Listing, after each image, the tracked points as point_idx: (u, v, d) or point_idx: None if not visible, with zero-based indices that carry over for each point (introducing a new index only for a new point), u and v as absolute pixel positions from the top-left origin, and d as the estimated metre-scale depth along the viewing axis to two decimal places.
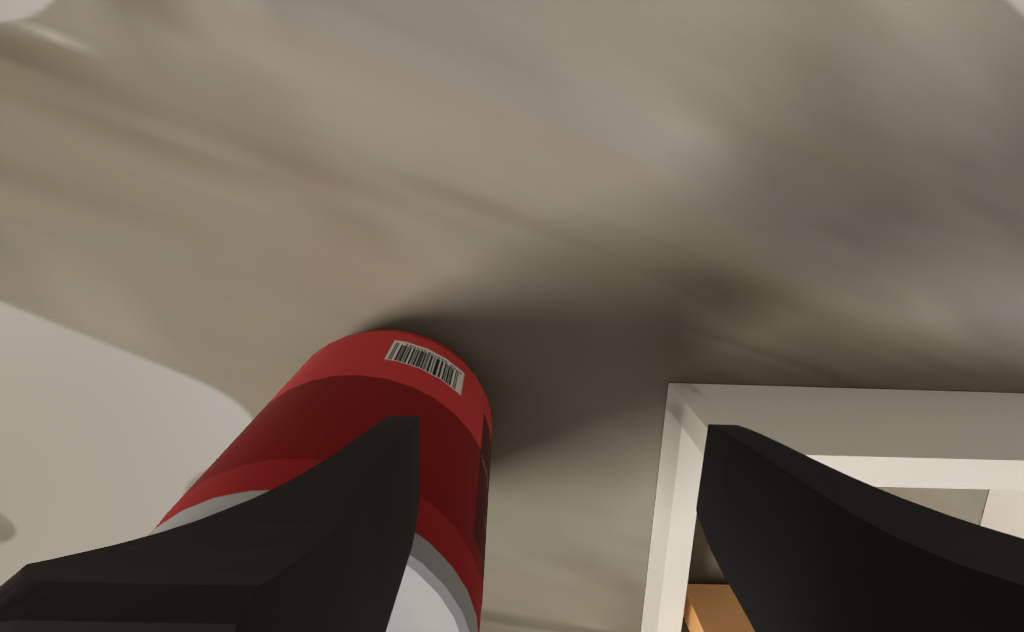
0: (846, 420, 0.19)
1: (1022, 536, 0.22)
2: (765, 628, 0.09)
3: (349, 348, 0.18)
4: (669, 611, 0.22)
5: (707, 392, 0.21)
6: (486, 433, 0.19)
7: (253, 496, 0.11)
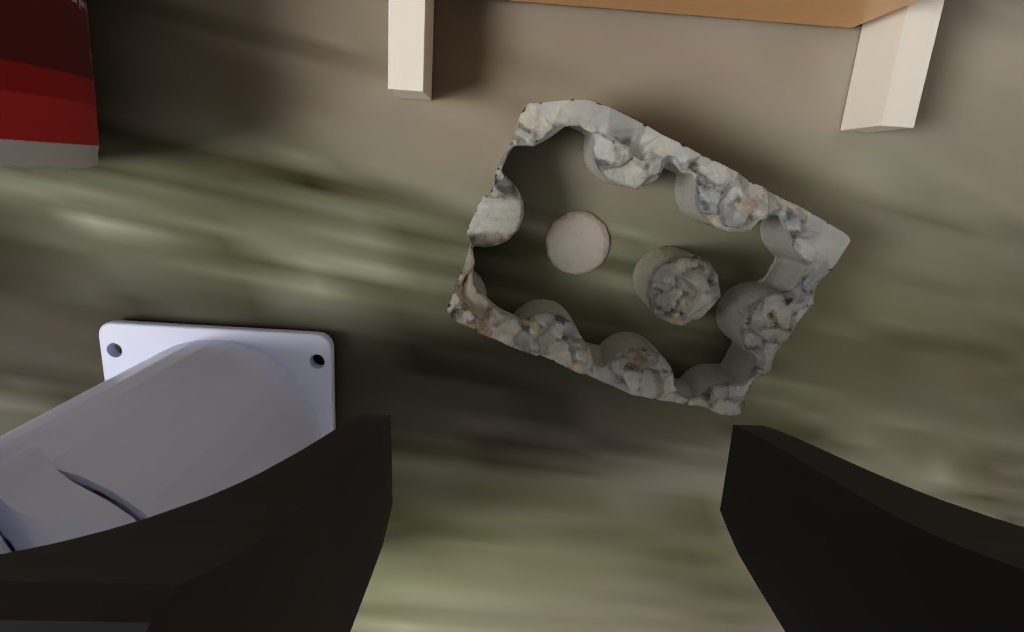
0: None
1: None
2: (796, 629, 0.09)
3: None
4: None
5: None
6: None
7: None
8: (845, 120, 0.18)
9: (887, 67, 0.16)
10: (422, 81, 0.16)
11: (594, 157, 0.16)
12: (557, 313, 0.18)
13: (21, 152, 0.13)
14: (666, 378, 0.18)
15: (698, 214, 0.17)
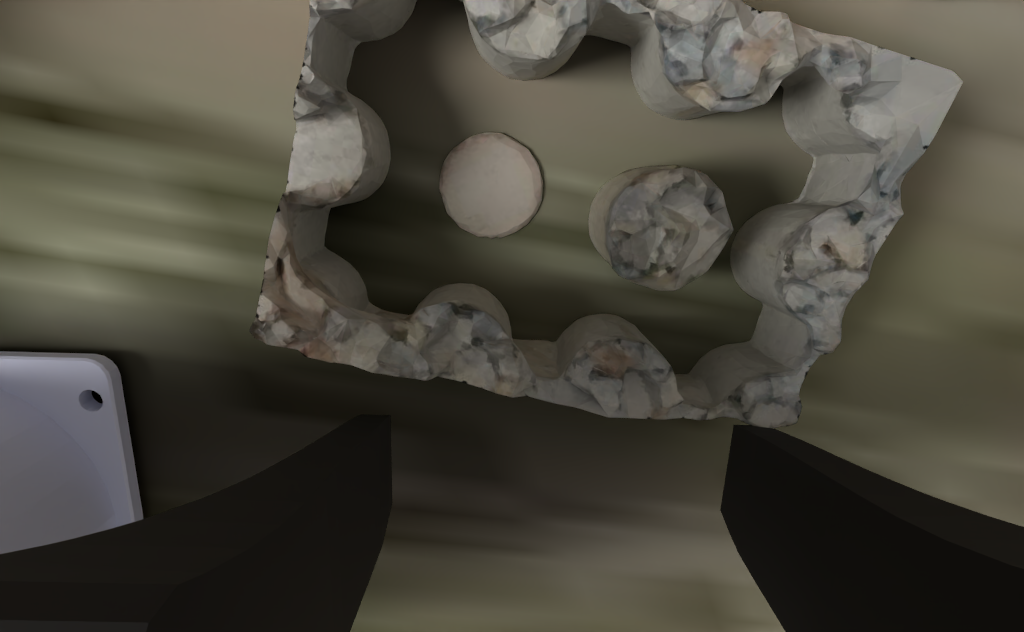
0: None
1: None
2: (797, 629, 0.09)
3: None
4: None
5: None
6: None
7: None
8: None
9: None
10: None
11: (470, 17, 0.09)
12: (463, 302, 0.10)
13: None
14: (663, 382, 0.11)
15: (672, 94, 0.10)
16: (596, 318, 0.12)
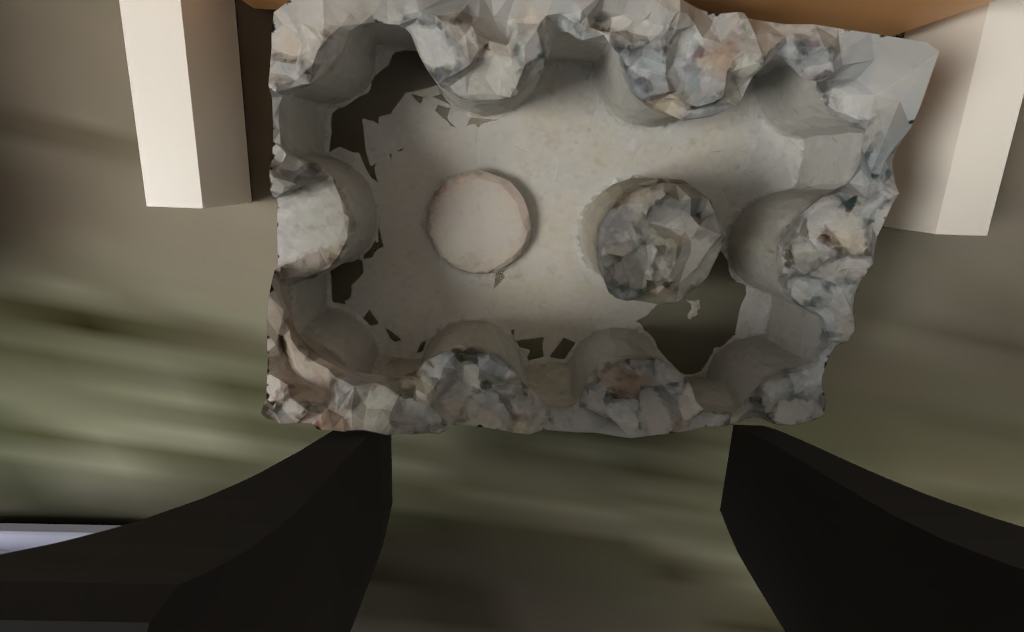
0: None
1: None
2: (796, 628, 0.09)
3: None
4: None
5: None
6: None
7: None
8: None
9: (943, 143, 0.10)
10: (200, 192, 0.10)
11: (427, 69, 0.09)
12: (467, 345, 0.11)
13: None
14: (679, 394, 0.11)
15: (643, 108, 0.10)
16: (604, 336, 0.12)
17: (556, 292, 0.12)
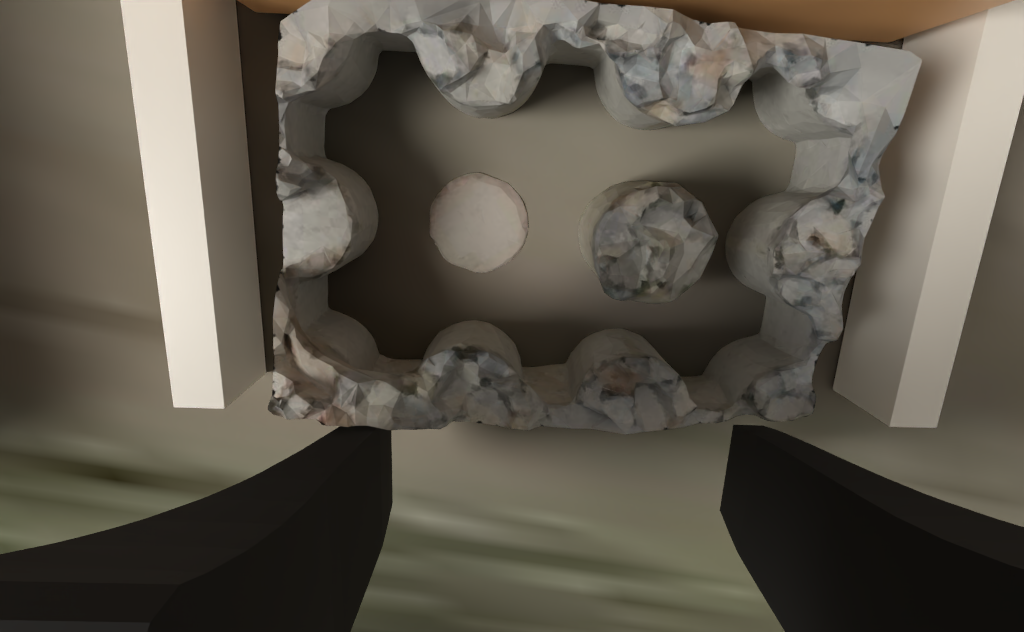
0: None
1: None
2: (796, 629, 0.09)
3: None
4: (167, 189, 0.10)
5: None
6: None
7: None
8: (839, 381, 0.13)
9: (896, 346, 0.11)
10: (222, 395, 0.11)
11: (429, 76, 0.09)
12: (467, 344, 0.11)
13: None
14: (674, 392, 0.11)
15: (638, 113, 0.10)
16: (601, 335, 0.12)
17: None
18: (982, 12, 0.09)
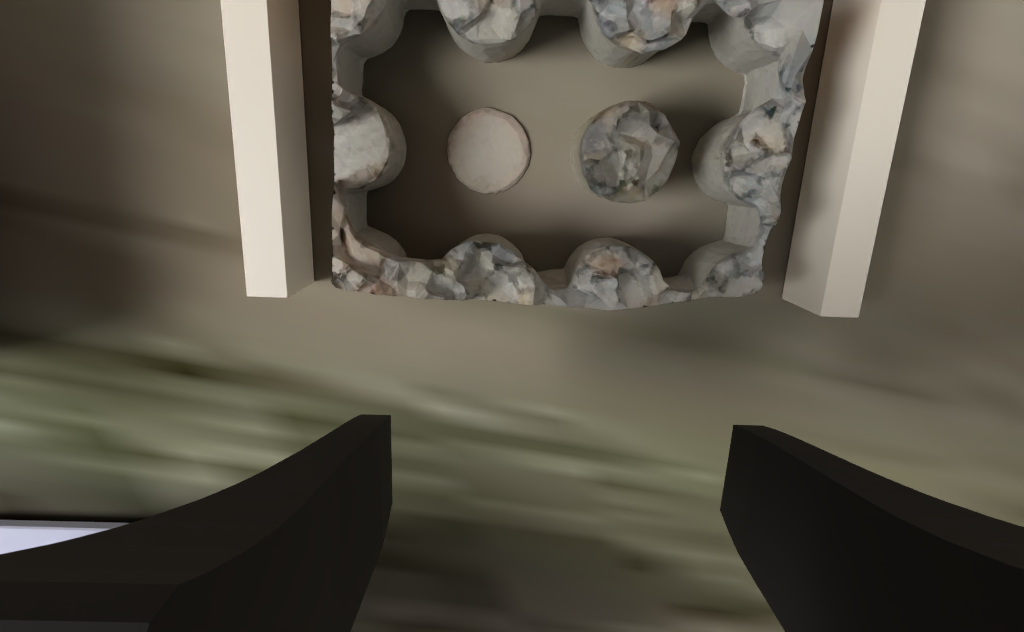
0: None
1: None
2: (797, 629, 0.09)
3: None
4: (248, 116, 0.13)
5: None
6: None
7: None
8: (786, 289, 0.16)
9: (825, 250, 0.14)
10: (286, 286, 0.14)
11: (447, 21, 0.12)
12: (482, 241, 0.13)
13: None
14: (650, 275, 0.13)
15: (613, 47, 0.13)
16: (591, 241, 0.15)
17: None
18: None
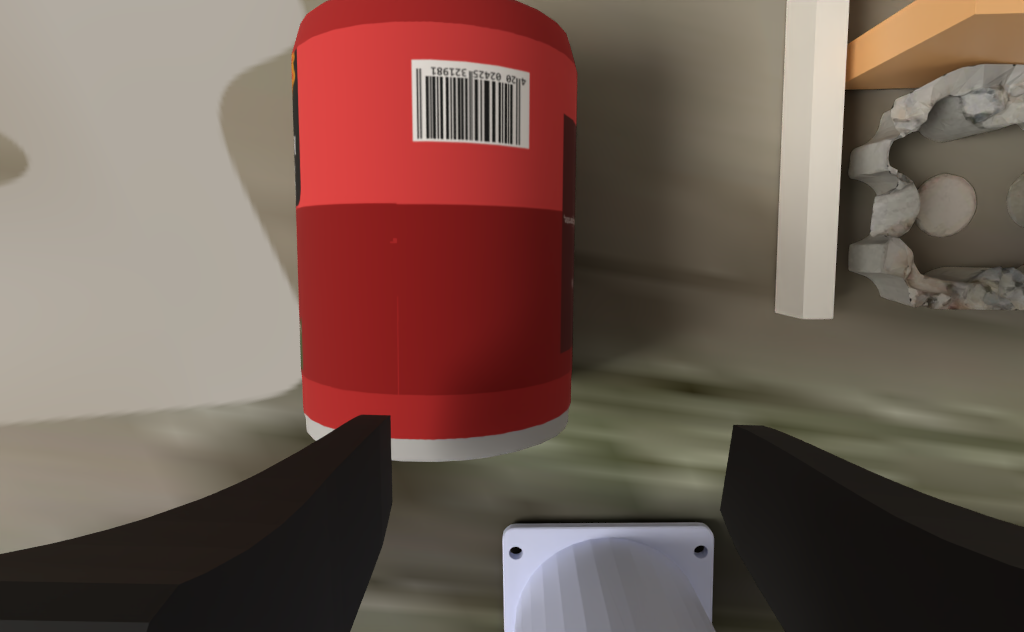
0: None
1: None
2: (796, 628, 0.09)
3: (354, 99, 0.12)
4: (821, 187, 0.18)
5: None
6: (568, 146, 0.14)
7: None
8: None
9: None
10: (832, 310, 0.18)
11: (966, 116, 0.17)
12: (986, 268, 0.18)
13: (563, 419, 0.16)
14: None
15: None
16: None
17: None
18: None
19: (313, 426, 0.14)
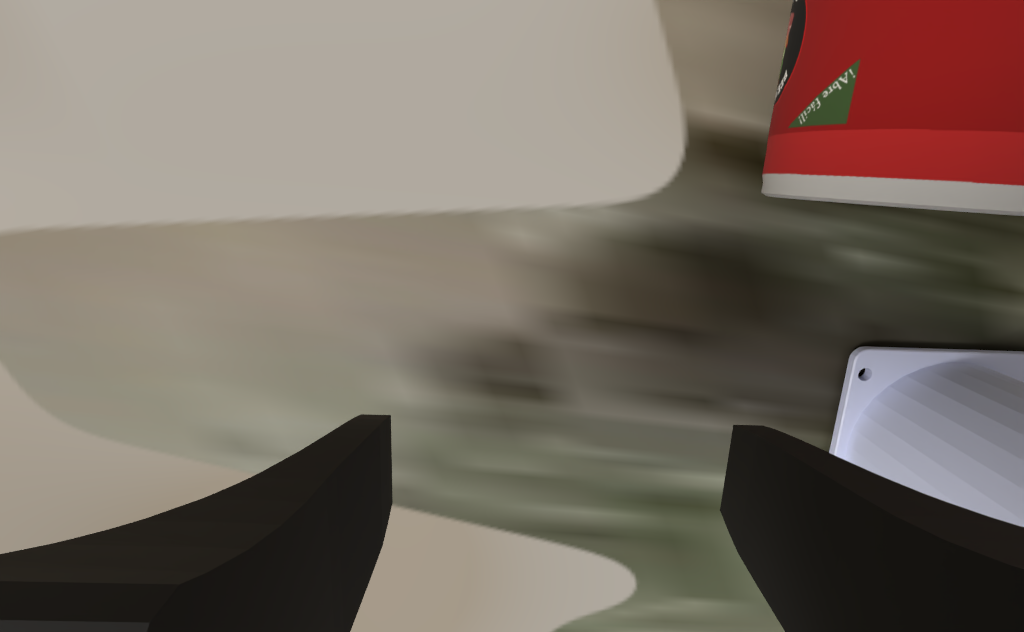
0: None
1: None
2: (796, 628, 0.09)
3: None
4: None
5: None
6: None
7: (986, 191, 0.12)
8: None
9: None
10: None
11: None
12: None
13: None
14: None
15: None
16: None
17: None
18: None
19: (860, 185, 0.13)
